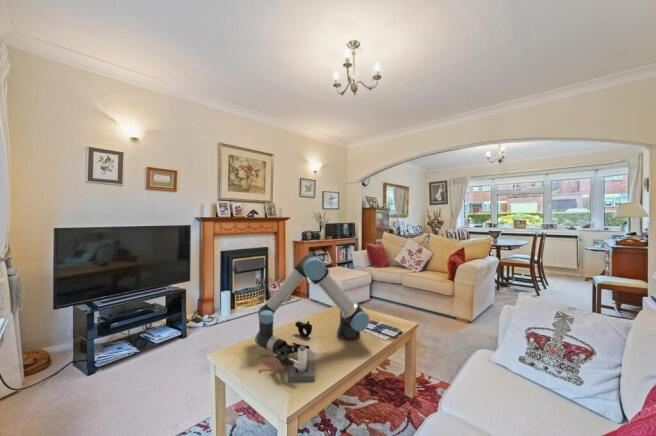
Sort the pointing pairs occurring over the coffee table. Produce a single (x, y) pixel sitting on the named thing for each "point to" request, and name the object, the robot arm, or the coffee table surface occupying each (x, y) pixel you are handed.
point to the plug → (302, 358)
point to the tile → (270, 364)
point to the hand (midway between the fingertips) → (308, 360)
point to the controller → (304, 326)
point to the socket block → (302, 373)
